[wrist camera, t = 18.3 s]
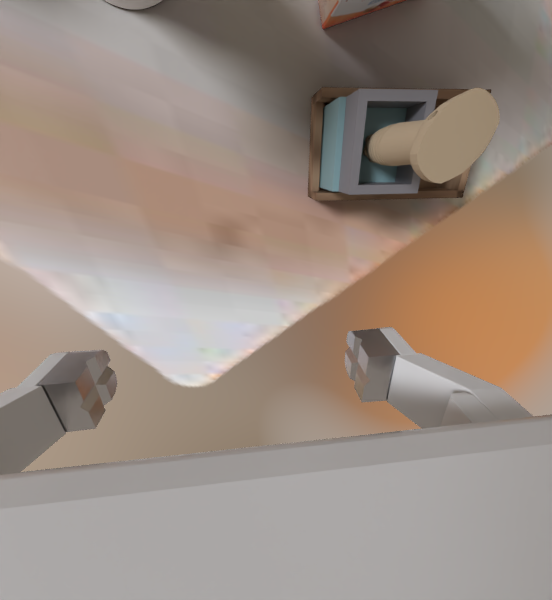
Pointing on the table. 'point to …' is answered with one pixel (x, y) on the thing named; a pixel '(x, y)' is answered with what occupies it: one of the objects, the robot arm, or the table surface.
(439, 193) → the bay
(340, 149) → the box
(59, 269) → the table surface
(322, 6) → the cracker box
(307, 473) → the robot arm
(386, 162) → the handle
